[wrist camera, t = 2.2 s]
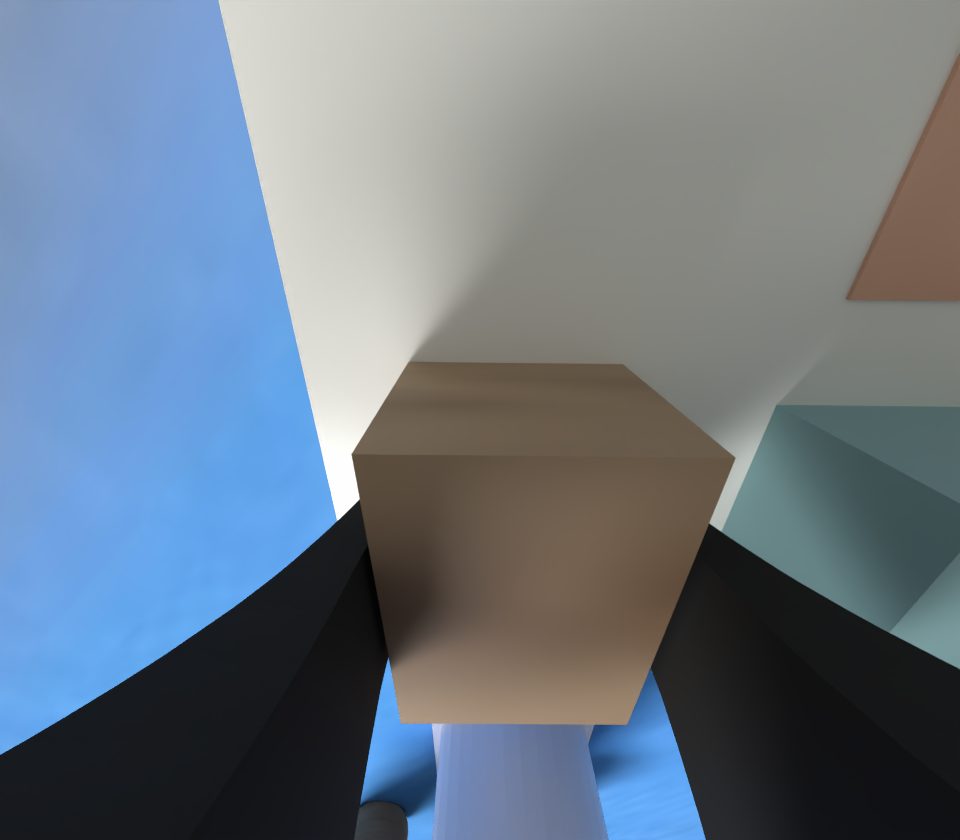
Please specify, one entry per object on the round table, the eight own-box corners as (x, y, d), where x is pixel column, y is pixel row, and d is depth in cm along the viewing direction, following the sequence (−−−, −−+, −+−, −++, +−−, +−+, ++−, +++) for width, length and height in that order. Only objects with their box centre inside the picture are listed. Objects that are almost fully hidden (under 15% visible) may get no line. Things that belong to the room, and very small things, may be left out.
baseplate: (905, 625, 14) (943, 659, 13) (376, 622, 14) (367, 655, 13) (1735, -294, 5) (2116, -456, 4) (189, -324, 5) (98, -503, 4)
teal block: (841, 595, 12) (1000, 747, 8) (694, 593, 12) (788, 747, 8) (977, 407, 9) (1332, 521, 5) (776, 404, 9) (989, 519, 5)
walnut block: (580, 572, 11) (627, 724, 8) (426, 571, 11) (401, 723, 8) (622, 364, 8) (735, 457, 4) (408, 362, 8) (351, 453, 4)
